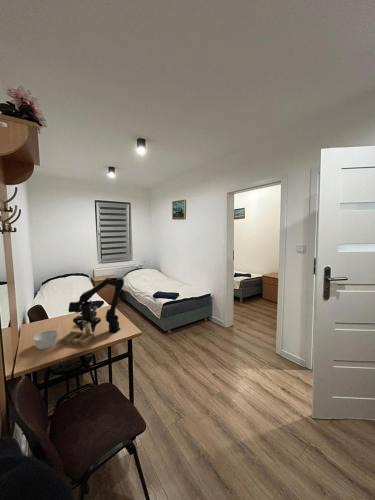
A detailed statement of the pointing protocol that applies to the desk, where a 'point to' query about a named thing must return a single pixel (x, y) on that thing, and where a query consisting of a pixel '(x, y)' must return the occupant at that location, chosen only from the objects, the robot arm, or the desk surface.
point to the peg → (87, 327)
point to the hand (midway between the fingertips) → (87, 331)
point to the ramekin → (46, 339)
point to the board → (77, 338)
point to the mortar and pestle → (93, 316)
